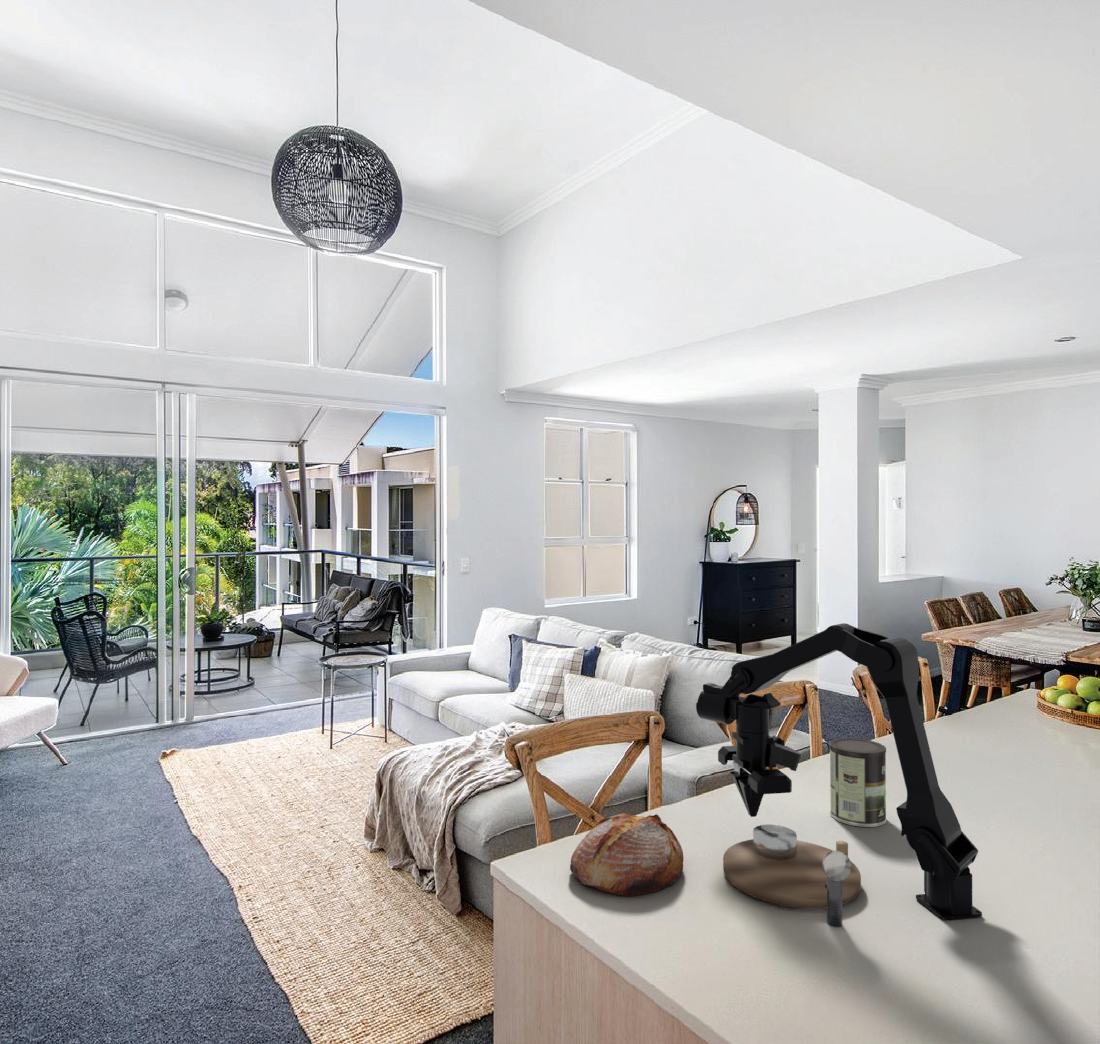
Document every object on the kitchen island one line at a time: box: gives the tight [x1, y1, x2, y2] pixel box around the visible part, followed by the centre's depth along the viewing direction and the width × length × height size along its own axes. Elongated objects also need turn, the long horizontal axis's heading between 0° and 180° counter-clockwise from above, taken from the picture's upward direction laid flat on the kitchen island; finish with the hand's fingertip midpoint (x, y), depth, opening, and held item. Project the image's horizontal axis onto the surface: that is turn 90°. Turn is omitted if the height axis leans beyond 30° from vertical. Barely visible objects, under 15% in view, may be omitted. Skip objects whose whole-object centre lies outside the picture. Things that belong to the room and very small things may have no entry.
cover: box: [752, 823, 797, 860], centre depth 125 cm, size 7×7×3 cm
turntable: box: [722, 838, 862, 909], centre depth 119 cm, size 21×21×4 cm
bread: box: [569, 812, 684, 897], centre depth 122 cm, size 16×20×10 cm
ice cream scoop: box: [822, 850, 852, 928], centre depth 107 cm, size 3×4×10 cm
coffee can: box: [828, 737, 887, 828], centre depth 145 cm, size 10×10×14 cm
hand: (752, 816), depth 134 cm, fingers closed
